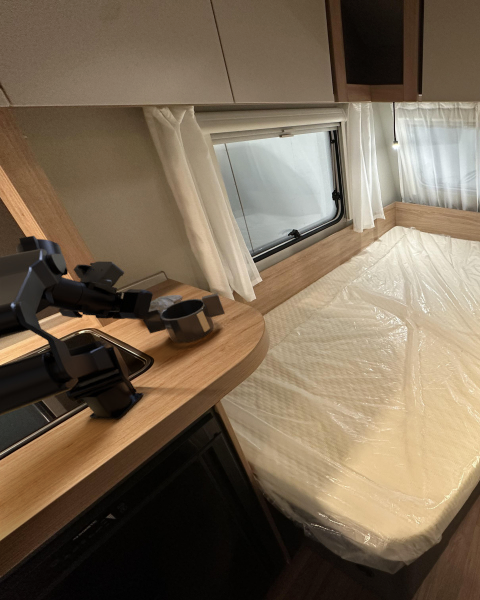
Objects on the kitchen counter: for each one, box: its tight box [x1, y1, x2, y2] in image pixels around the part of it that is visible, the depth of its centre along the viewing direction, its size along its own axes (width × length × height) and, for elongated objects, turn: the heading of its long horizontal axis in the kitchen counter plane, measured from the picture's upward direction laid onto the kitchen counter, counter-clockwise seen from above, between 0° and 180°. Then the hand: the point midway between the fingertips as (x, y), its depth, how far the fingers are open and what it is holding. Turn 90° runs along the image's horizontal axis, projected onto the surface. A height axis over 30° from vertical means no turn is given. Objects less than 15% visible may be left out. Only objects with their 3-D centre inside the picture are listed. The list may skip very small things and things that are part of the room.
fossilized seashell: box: [149, 294, 184, 312], centre depth 96 cm, size 11×11×7 cm
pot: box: [142, 292, 226, 344], centre depth 84 cm, size 11×18×9 cm, turn 118°
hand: (141, 311), depth 76 cm, fingers closed
